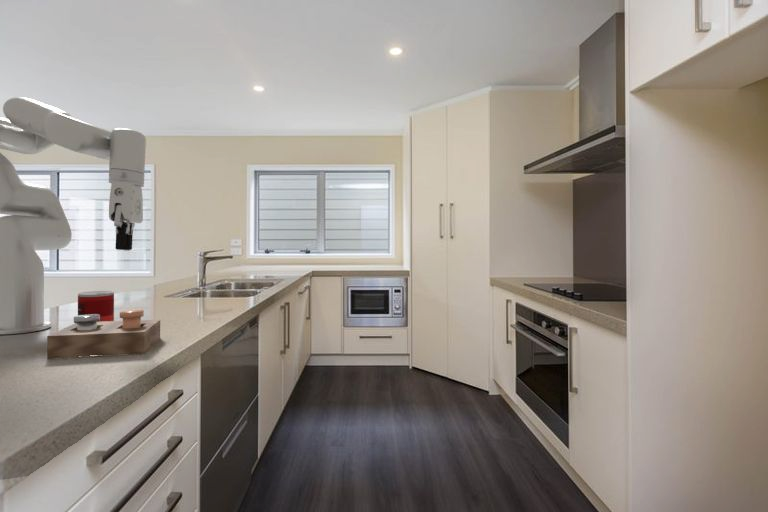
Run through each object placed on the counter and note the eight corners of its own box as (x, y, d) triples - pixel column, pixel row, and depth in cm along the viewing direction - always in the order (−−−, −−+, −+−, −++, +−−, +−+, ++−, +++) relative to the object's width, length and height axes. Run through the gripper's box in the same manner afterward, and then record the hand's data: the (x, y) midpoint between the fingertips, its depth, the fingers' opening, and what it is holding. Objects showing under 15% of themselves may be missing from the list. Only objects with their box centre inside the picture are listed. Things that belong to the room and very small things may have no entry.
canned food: (120, 329, 106) (120, 291, 106) (96, 336, 98) (96, 295, 98) (96, 328, 107) (96, 290, 107) (70, 334, 99) (70, 293, 99)
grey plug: (69, 350, 84) (69, 318, 84) (79, 344, 89) (79, 314, 88) (95, 348, 86) (95, 317, 85) (103, 343, 90) (103, 313, 90)
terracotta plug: (116, 344, 87) (116, 313, 87) (123, 339, 91) (123, 310, 91) (140, 342, 88) (140, 312, 88) (145, 337, 93) (146, 309, 93)
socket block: (47, 359, 79) (47, 336, 79) (77, 342, 92) (77, 322, 92) (144, 353, 85) (144, 331, 85) (160, 338, 98) (160, 319, 98)
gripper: (133, 176, 90) (130, 251, 91) (152, 184, 104) (149, 249, 105) (96, 172, 88) (93, 250, 88) (121, 181, 102) (118, 247, 103)
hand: (123, 249), depth 97 cm, fingers closed
